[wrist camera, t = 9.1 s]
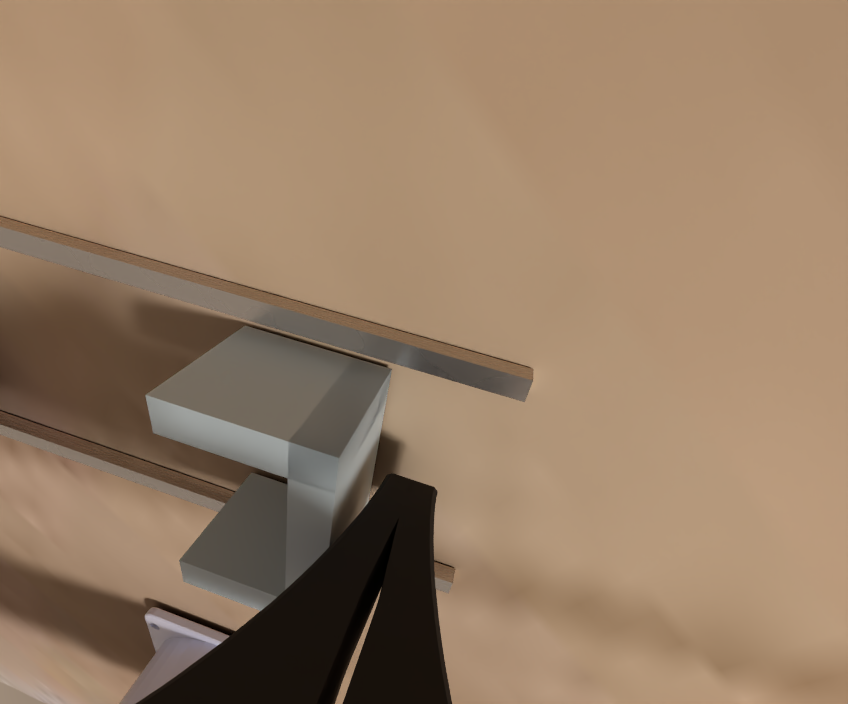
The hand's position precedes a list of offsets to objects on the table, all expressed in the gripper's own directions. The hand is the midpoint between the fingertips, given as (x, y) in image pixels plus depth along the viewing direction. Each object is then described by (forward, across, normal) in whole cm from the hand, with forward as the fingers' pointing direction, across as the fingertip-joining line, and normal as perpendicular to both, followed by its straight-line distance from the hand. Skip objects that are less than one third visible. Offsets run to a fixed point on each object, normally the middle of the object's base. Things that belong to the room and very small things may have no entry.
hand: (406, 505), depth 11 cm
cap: (+1, +3, 0) cm, 3 cm away
